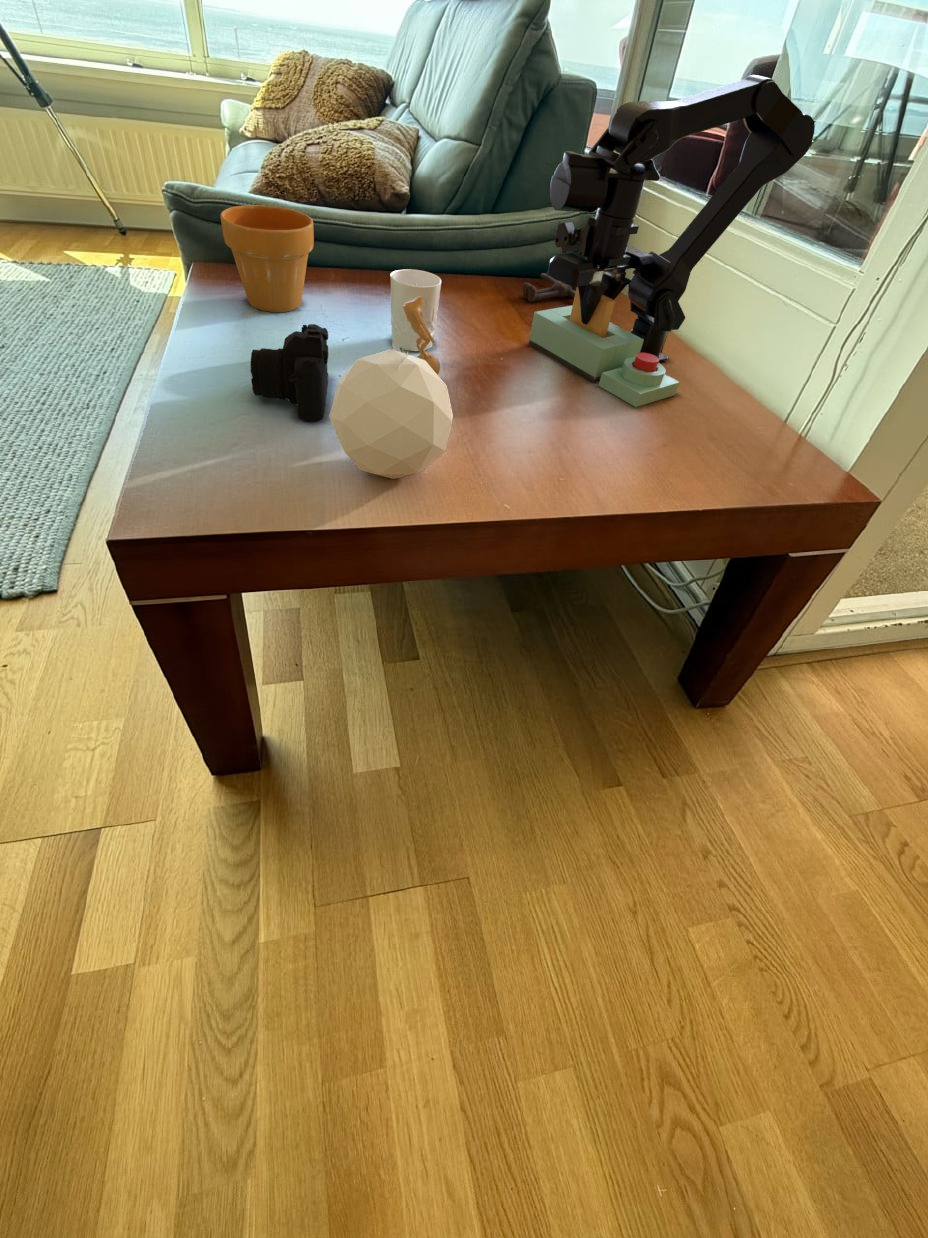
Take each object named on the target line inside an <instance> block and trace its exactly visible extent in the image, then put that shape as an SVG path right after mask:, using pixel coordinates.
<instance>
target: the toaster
mask: <svg viewBox="0 0 928 1238" xmlns="http://www.w3.org/2000/svg"><path fill="white" fill-rule="evenodd" d="M572 306H573V304H572V305H566V306H562V307H561V306H560V307H555V308H549V309H543V310H537V311H534V312H533V317H532V323H531V327H530V333H529V338H528V343H527V345H528V346H529V347H532V348H533V349H535V350H537V351H538V352H539V353H541V354H544V355H546V356H547V357H548V358H550V359H552V360H554V361H556V362H557V363H558V364H561V365H562V366H564V367H566V368H568V369H569V370H571V371H573V372H574V373H576V374H578V375H579V376H581V377H583V378H584V379H586V380H588V381H590V382H591V383H593V384H594V383H598V382H600V379H601V375H602V372H606V371H610V370H614V369H618V368H622V367H623V364H624V361H625V360H626V359H627V358H632V357H636V355H637V354H638V353H640V351H641V347H642V344H643V341H644V339H642V338H640V337H638V336H636V335H634V334H632V333H631V331H628V330H626V329H624V328H622V327H620V326H618V325H616V324H614V323H612V322H610V323H609V326H608V330H607V334H606V337H605V338H602V337H600V336H598V335H596V334H594V333H592V332H590V331H589V330H587V329H585V328H583V327H581V326H579V325H577V324H575V323H573V322H571V321H570V315H571V311H572Z"/></svg>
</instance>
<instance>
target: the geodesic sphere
mask: <svg viewBox="0 0 928 1238" xmlns="http://www.w3.org/2000/svg"><path fill="white" fill-rule="evenodd" d="M391 345H392V348H390V349H386V350H383V351H379V352H377V353H373V354H369V355H365V356H362V357H359V358H357V359H356V360H355V361H354V362H353V364H352V365H350V367H348V369H347V371H345V373H344V374H343V375H342V376H341V378H340V379H339V380H338V382H337V385H336V388H335V393H334V397H333V401H332V403H331V404H332V405H331V408H330V412H329V415H328V418H329V420H330V422H331V424H332V426H333V429H334V431H335V434H336V435H337V439H338V441H339V443H340V445H341V448H342V450H343V452H344V454H345V455H346V456H347V457H348V458H349V459H350V460H351V461H352V463H354V465H355V466H357V467H358V468H359V470H360V471H361V472H365V473H369V474H371V475H377V476H381V477H384V478H389V479H392V480H396V479H400V478H404V477H408V476H413V475H417V474H419V473H421V472H422V471H425V470H426V469H427V468H428V467H429V466H430V465H431V464H433V463H434V462H435V461H436V460H437V459H438V458H440V457H441V456H442V455H443V454H444V453H445V452H446V451H447V447H448V441H449V438H450V433H451V428H452V425H453V424H452V423H453V419H454V414H453V410H452V409H453V408H452V404H451V399H450V394H449V390H448V386H447V385H446V383H445V382H444V381H443V380H442V379H441V377H440V376H439V374H438V375H437V374H436V373H435V371H434V370H433V369H432V368H431V367H430V365H429V364H428V363H427V362H426V361H425V360H423V359H420V358H417V356H414V355H410V354H408V353H409V351H410V350H406V349H403V345H402V348H400V347H399V344H398V343H397V345H396V343H394V344H393V342H391Z"/></svg>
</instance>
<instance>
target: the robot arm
mask: <svg viewBox="0 0 928 1238" xmlns="http://www.w3.org/2000/svg"><path fill="white" fill-rule="evenodd" d="M741 120H743V125H744V126H745V128H746V129H747V131H748V132H749V135H748V137H747V138H746V139H745V142H744V145H743V148H742V152H741V156H740V159H739V161H738V163H737V164H736V165H737V166H735V168H734V169H733V170H732V172H731V173H730V174H729V175H728V176H727V178H726V179H725V180H724V181H723V183H722V184H721V185H720V186H719V188H718V189H717V190H716V191H715V192H714V193H713V194H712V196H711V197H710V199H709V200H708V201H707V202H706V203H705V205H704V206H703V207H702V208H701V210H700V211H699V212H698V213H697V214H696V215H695V217H694V218H693V219H692V221H690V223H689V224H688V225H687V227H686V228H685V229H684V231H683V232H681V234H680V235H679V236H678V238H677V239H676V240H675V241H674V242H673V244H672V245H671V246H670V247H669V248H668V249H667V250H665V251H664V252H662V253H659V254H658V253H657V252H655V251H653V250H651V251H649V252H646V251H644V250H641V249H640V248H637V247H635V246H628V245H629V243H630V239H631V235H637V234H638V231H639V227H640V225H637V224H635V220H636V217H637V212H638V208H639V205H640V201H641V199H642V198H641V197H642V194H643V190H644V187H645V183H646V181H649V182H658V181H659V180H660V178H661V175H660V173H659V172H658V170H657V169H656V166H655V161H654V160H653V159H655V158H657V157H658V156H660V155H662V154H664V153H666V152H667V151H669V150H670V149H671V148H672V147H673V146H674V145H675V144H676V143H677V142H678V141H680V140H683V139H684V138H686V137H689V136H693V135H695V134H696V135H697V134H699V133H702V132H705V131H709V130H711V129H715V128H718V127H721V126H725V125H727V124H728V125H729V124H731V123H734V122H737V121H741ZM815 128H816V124H815V121H814V118H813V117H812V116H811V115H809V114H806V113H803V111H802V110H801V109H800V108H799V107H798V106H797V104H795V103H794V102H792V101H791V100H790V99H789V97H787V95H785V93H783V91H782V89H781V88H780V87H779V86H778V84H777V83H776V81H775V80H774V79H773V78H770V77H766V76H762V75H756V74H750V75H747V76H746V77H743V78H742V79H741V80H738V81H735V82H731V83H728V84H724V85H721V86H718V87H714V88H711V89H708V90H705V91H702V92H698V93H695V94H691V95H688V96H685V97H682V98H679V99H676V100H670V101H669V100H668V101H661V100H660V101H659V100H658V101H656V100H639V101H627V102H626V103H623V104H622V105H620V106H619V107H618V108H617V109H616V112H615V113H614V115H613V117H612V119H611V122H610V124H609V126H608V127H607V128H606V129H605V130H604V131H603V133H602V134H601V136H600V137H599V138H598V139H597V141H595V143H594V144H593V146H592V147H591V149H589V151H588V152H587V154H586V153H585V154H582V153H577V152H575V151H569V150H566V151H564V153H563V158H562V161H561V162H560V163H559V164H558V165H557V167H556V168H555V170H554V174H553V175H552V176H551V180H550V186H549V198H550V204H551V207H552V208H553V209H554V211H558V212H576V213H577V212H578V213H594V212H596V214H595V216H589V218H588V219H587V221H586V226H585V227H579V228H575V226H574V223H573V222H572V221H571V222H560V223H558V224H557V227H556V230H555V234H554V245H555V247H556V248H560V249H561V250H560V251H561V254H555V255H554V256H552V258H550V260H549V264H548V270H547V272H548V275H549V276H550V277H552V278H553V279H555V280H557V281H559V282H560V281H562V282H564V283H566V284H568V285H570V286H574V287H578V291H579V297H580V308H581V321H582V323H583V324H585V325H586V324H588V323H589V321H590V319H591V317H592V315H593V313H594V311H595V309H596V307H597V305H598V303H599V301H600V299H601V297H602V295H605V296H607V297H609V298H611V299H613V300H616V299H617V297H618V296H619V295H620V294H621V293H622V291H623V290H625V288H626V287H628V289H627V296H628V299H629V301H630V307H629V308H630V312H632V313H634V314H635V315H637V317H636V318H635V319H634V324H633V326H632V328H631V331H630V333H632V334H634V335H636V336H638V337H640V338H642V339H644V341H643V344H642V347H641V351H640V353H649V354H652V355H655V356H656V357H658V358H659V362H658V363H662V362H664V361H665V362H666V361H667V360H668V359H669V357H668V356H667V355H665V354H663V350H664V347H665V344H666V341H667V338H668V334H669V332H670V333H671V332H672V331H677V330H679V329H680V328H681V326H682V325H683V323H684V322H685V320H686V315H685V313H684V311H683V309H682V307H681V304H680V303H679V300H680V299H681V298H682V297H683V295H684V293H686V290H687V288H688V287H687V286H688V283H689V280H690V276H691V274H692V271H693V270H694V268H695V267H696V266H697V265H698V263H699V262H700V261H701V259H702V258H704V256H705V255H706V254H707V253H708V252H709V250H710V249H711V248H712V247H713V246H714V244H715V243H716V242H717V241H718V239H720V237H721V236H722V235H723V233H724V232H725V231H726V230H727V229H728V228H729V227H730V225H731V224H732V223H733V222H734V221H735V219H736V218H737V217H738V216H739V215H740V213H742V211H743V210H744V209H745V208H746V206H747V205H748V204H749V203H750V201H751V200H753V198H754V197H755V196H756V195H757V193H758V192H759V191H760V190H761V189H762V188H763V187H765V185H767V184H768V183H771V182H772V181H774V180H776V179H778V178H780V177H781V176H783V175H785V174H787V173H788V172H789V171H790V170H791V169H792V168H793V167H794V166H795V165H796V164H797V163H798V162H799V161H800V160H801V159H803V158H804V157H805V155H807V153H808V152H809V150H810V149H811V147H812V145H813V143H814V140H813V139H814V135H815V130H816V129H815ZM568 252H570V253H568ZM571 252H573V253H571ZM574 253H577V255H576V254H574ZM583 257H586V259H585V258H583ZM631 269H634V270H633V271H632V274H633V276H632V277H631V279H630V278H628V277H626V275H627V272H626V270H631Z"/></svg>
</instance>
